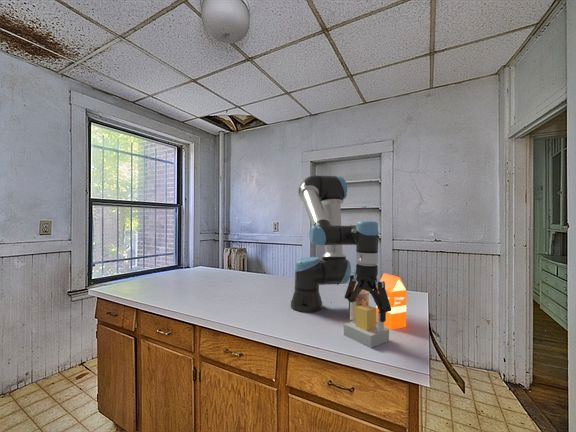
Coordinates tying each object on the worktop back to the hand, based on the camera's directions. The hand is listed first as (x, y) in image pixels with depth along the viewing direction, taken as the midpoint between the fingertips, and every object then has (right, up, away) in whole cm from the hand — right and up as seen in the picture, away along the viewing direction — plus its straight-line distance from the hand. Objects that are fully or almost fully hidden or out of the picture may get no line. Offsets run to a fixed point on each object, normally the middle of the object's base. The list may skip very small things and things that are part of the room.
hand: (366, 324), depth 99 cm
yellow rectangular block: (0, -1, 0) cm, 1 cm away
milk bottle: (+3, -5, +22) cm, 22 cm away
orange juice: (+14, -5, +13) cm, 20 cm away
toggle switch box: (0, -5, 0) cm, 5 cm away
